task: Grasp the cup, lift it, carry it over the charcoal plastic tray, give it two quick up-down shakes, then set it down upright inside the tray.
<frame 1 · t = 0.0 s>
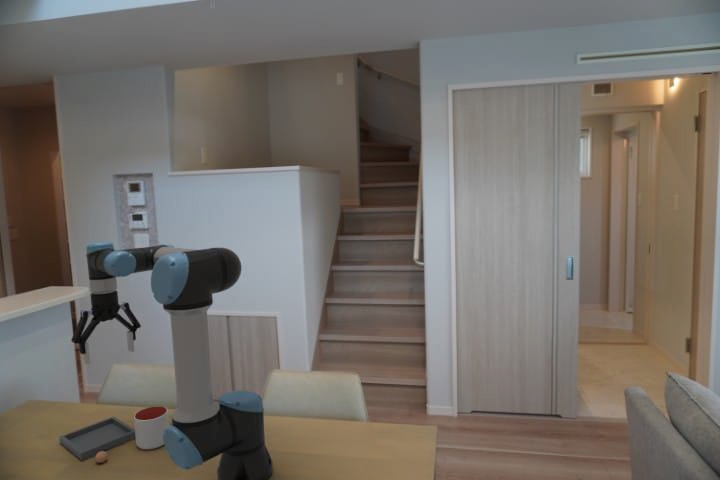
hand: (109, 357, 153), 28 cm above the table, fingers open, 13 cm apart
ball: (101, 462, 144), on the table
cup: (153, 443, 154), on the table
tray: (99, 440, 156), on the table
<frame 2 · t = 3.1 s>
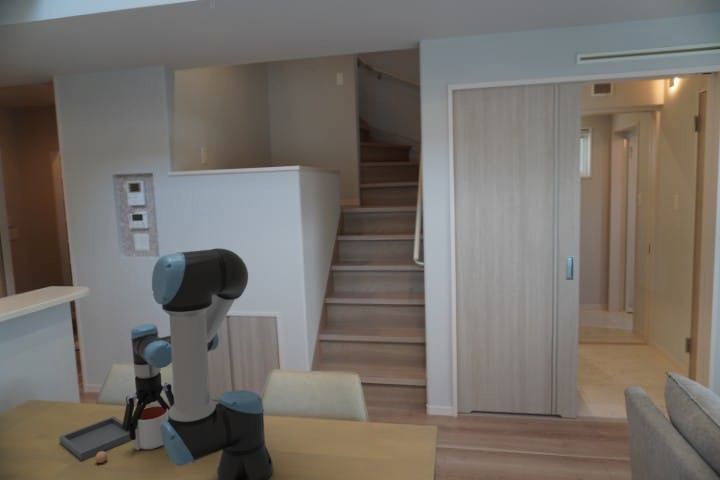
hand: (153, 440, 154), 1 cm above the table, fingers closed on cup, 10 cm apart
cup: (153, 443, 154), on the table, touching gripper
everything else where it was.
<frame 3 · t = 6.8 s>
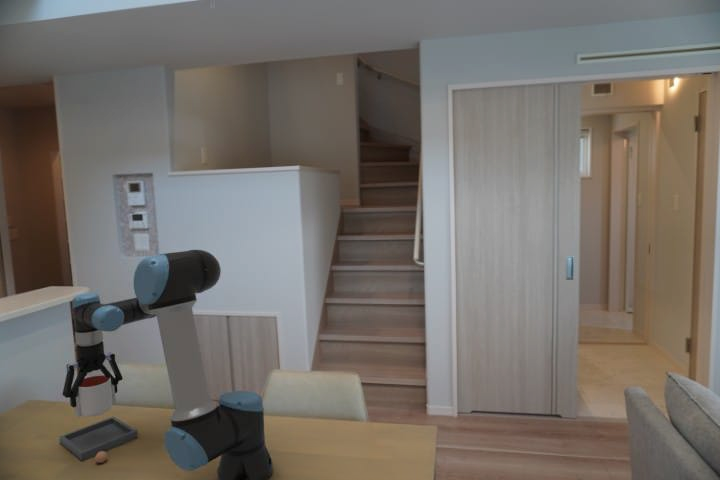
hand: (95, 409, 155), 11 cm above the table, fingers closed on cup, 10 cm apart
cup: (95, 411, 155), point 10 cm above the table, touching gripper
everything else where it was.
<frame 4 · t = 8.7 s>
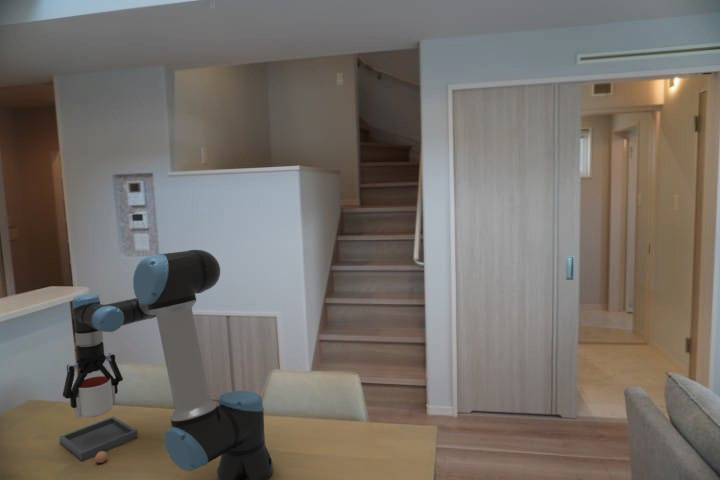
hand: (96, 410, 155), 10 cm above the table, fingers closed on cup, 10 cm apart
cup: (96, 412, 155), point 10 cm above the table, touching gripper
everything else where it was.
when the fingers open (3 cm above the table, at t = 10.5 s): cup drops 2 cm, resting on tray.
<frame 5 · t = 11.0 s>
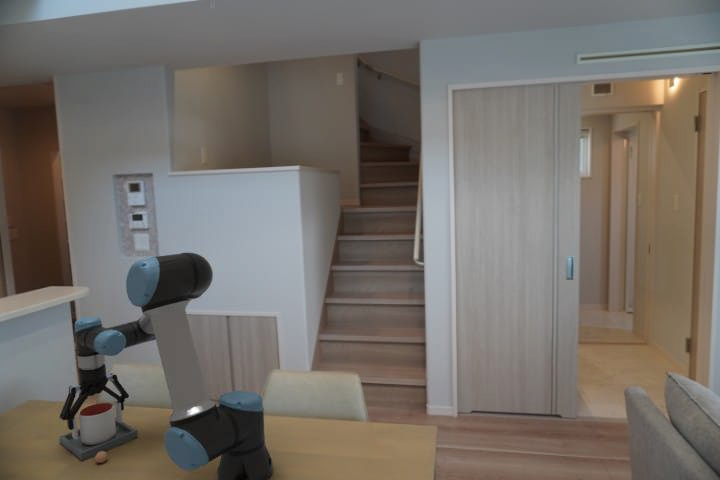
hand: (98, 429, 156), 4 cm above the table, fingers open, 13 cm apart
cup: (99, 439, 156), resting on tray
everything else where it was.
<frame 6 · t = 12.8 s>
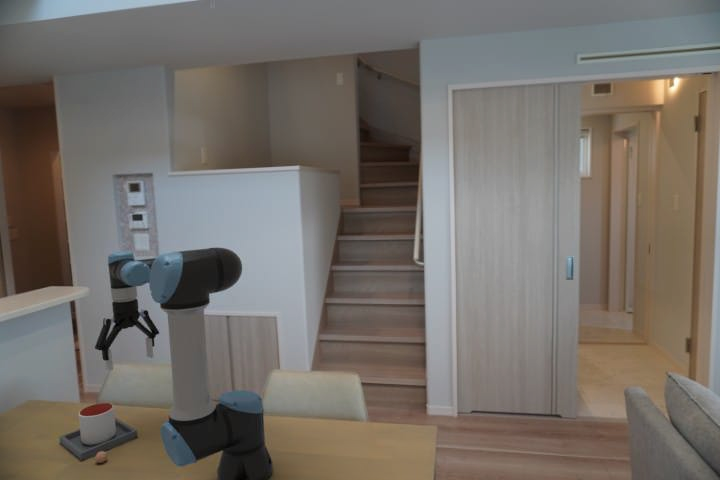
hand: (130, 363, 158), 24 cm above the table, fingers open, 13 cm apart
nothing on the table moved.
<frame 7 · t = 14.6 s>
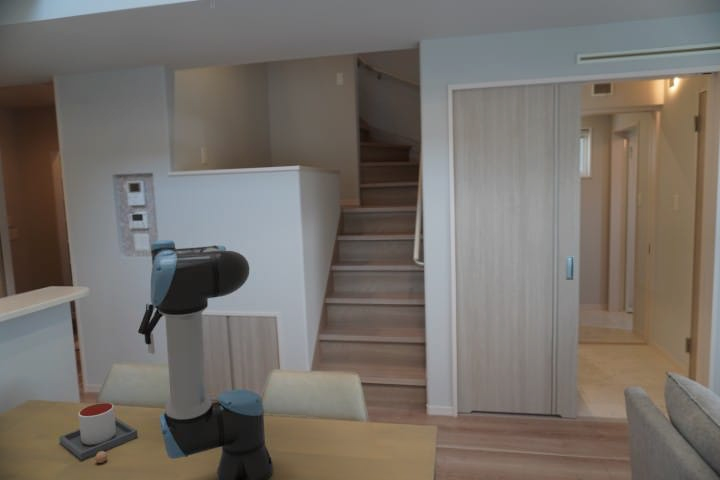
hand: (170, 347, 165), 27 cm above the table, fingers open, 13 cm apart
nothing on the table moved.
at the end: cup inside the target area on the tray (0.0 cm from its centre), point 0.4 cm above the tray's base; cup tilted 0°; the gripper is holding nothing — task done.
